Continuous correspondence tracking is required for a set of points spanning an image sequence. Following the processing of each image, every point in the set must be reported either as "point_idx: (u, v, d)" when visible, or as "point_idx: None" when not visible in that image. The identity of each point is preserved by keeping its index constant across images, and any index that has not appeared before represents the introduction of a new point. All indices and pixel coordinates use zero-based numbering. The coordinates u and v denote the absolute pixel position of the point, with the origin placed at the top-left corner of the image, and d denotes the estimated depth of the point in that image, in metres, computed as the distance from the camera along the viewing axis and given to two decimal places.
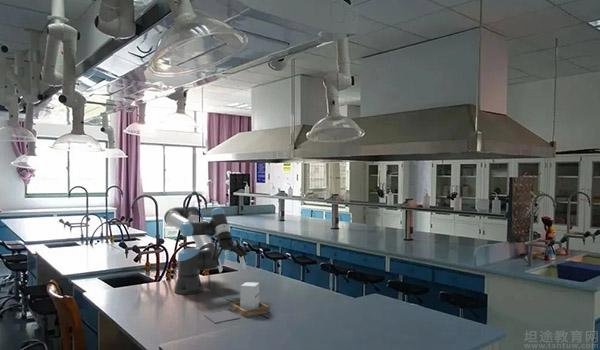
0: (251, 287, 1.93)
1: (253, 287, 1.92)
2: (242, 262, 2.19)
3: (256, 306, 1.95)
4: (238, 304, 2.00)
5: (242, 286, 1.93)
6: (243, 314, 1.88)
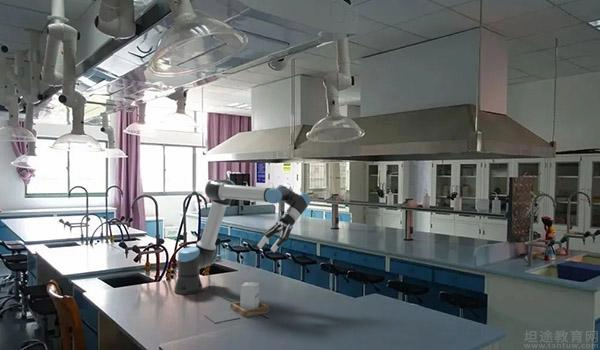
0: (251, 287, 1.93)
1: (253, 287, 1.92)
2: (263, 242, 2.14)
3: (256, 306, 1.95)
4: (238, 304, 2.00)
5: (242, 286, 1.93)
6: (243, 314, 1.88)
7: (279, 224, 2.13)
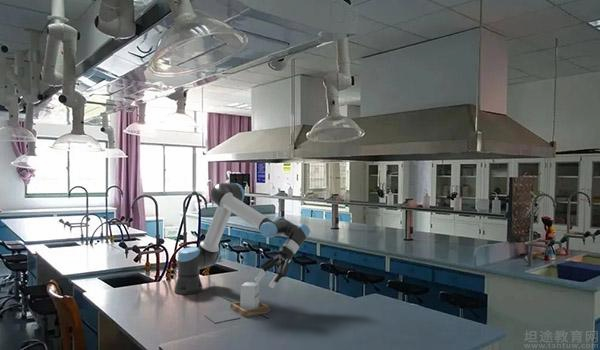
0: (251, 287, 1.93)
1: (253, 287, 1.92)
2: (260, 275, 2.06)
3: (256, 306, 1.95)
4: (238, 304, 2.00)
5: (242, 286, 1.93)
6: (243, 314, 1.88)
7: (277, 257, 2.05)
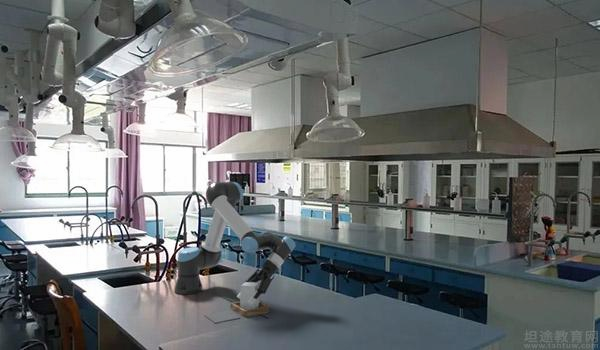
0: (251, 287, 1.93)
1: (253, 287, 1.92)
2: None
3: (256, 306, 1.95)
4: (238, 304, 2.00)
5: (242, 286, 1.93)
6: (243, 314, 1.88)
7: (261, 271, 2.01)
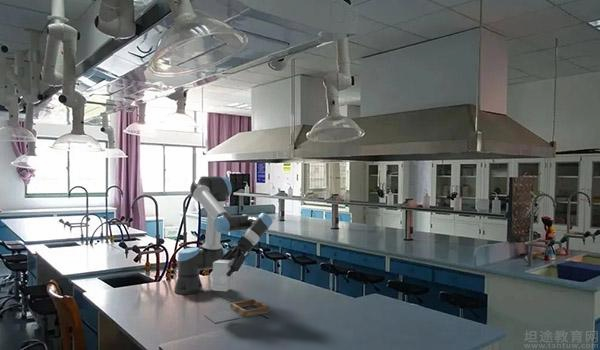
0: (224, 264, 1.83)
1: (226, 264, 1.83)
2: None
3: (229, 284, 1.85)
4: (238, 304, 2.00)
5: (214, 263, 1.84)
6: (243, 314, 1.88)
7: (235, 248, 1.91)
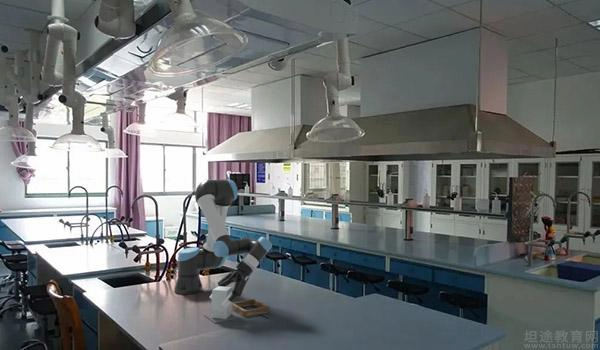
0: (223, 292, 1.83)
1: (225, 292, 1.83)
2: None
3: (229, 312, 1.85)
4: (238, 304, 2.00)
5: (214, 290, 1.84)
6: (243, 314, 1.88)
7: (234, 273, 1.91)
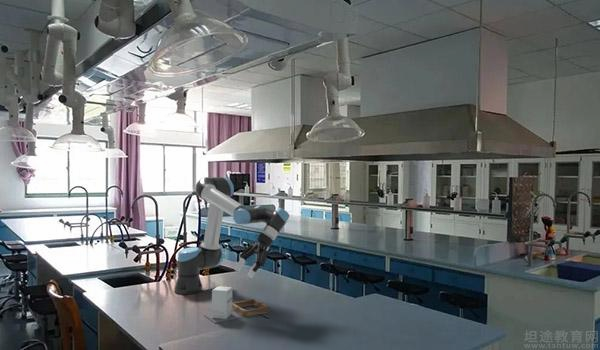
0: (223, 292, 1.83)
1: (225, 292, 1.83)
2: (240, 264, 2.00)
3: (229, 312, 1.85)
4: (238, 304, 2.00)
5: (214, 290, 1.84)
6: (243, 314, 1.88)
7: (256, 245, 1.99)
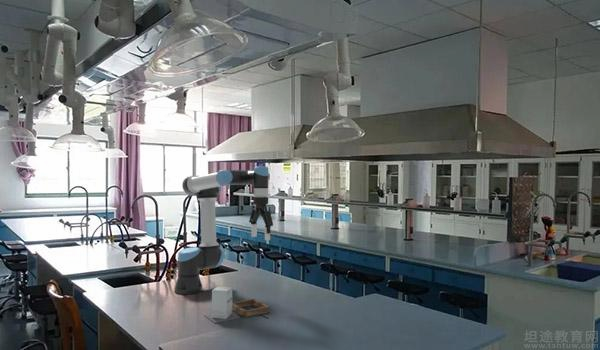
0: (223, 292, 1.83)
1: (225, 292, 1.83)
2: (254, 230, 2.14)
3: (229, 312, 1.85)
4: (238, 304, 2.00)
5: (214, 290, 1.84)
6: (243, 314, 1.88)
7: (256, 209, 2.08)
